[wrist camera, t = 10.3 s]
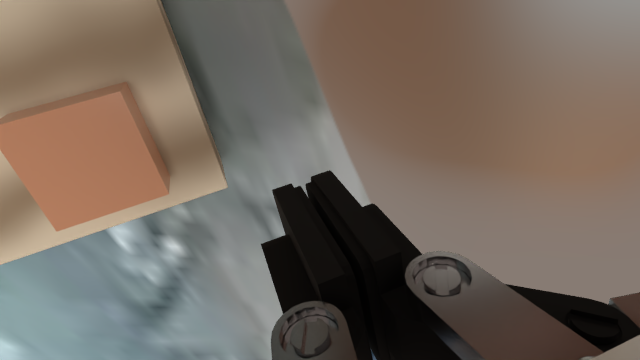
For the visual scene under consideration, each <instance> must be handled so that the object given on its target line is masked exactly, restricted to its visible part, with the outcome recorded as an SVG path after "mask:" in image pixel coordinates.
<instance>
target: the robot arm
mask: <svg viewBox="0 0 640 360" xmlns="http://www.w3.org/2000/svg"><path fill="white" fill-rule="evenodd" d="M306 190H307V194H308V197H307V195H306V194H305V192H304V191H303V189H302V187H301V186H298V187H295V188H294V187H293V185H292V184H288V185H285V186H282V187H279V188H276V189H273V190H272V191H273V195H274V199H275V202H276V205H277V208H278V212H279V215H280V218H281V221H282V225H283V228H284V231H285V234H286V235H285V236H282V237H279V238H276V239H274V240H271V241H268V242H265V243H263V244H261V246H262V249H263V252H264V255H265V258H266V261H267V264H268V268H269V271H270V274H271V277H272V280H273V283H274V286H275V289H276V293H277V296H278V299H279V302H280V305H281V308H282V311H283V315H282V316H281V317H280V318H279V320H278V321H277V322H276V324H275V326H274V328H273V331H272V337H271V350H272V360H373V359H372V354H371V350H372V352H373V354H374V355H375V357H376V359H377V360H640V292H639V293H635V294H629V295H624V296H619V297H615V298H610V301H609V304H608V305H607V304H605V303H602V302H599V301H595V300H592V299H587V298H582V297H576V296H570V295H564V294H558V293H553V292H547V291H542V290H536V289H530V288H524V287H518V286H513V285H507V284H504V283H502V282H501V281H499V280H498V279H496V278H495V277H494V276H492V275H491V274H489V273H488V272H486V271H485V270H483V269H482V268H481V267H479V266H477V265H476V264H475V263H473V262H472V261H470V260H469V259H467V258H465V257H463V256H461V255H459V254H456V253H452V252H445V251H443V252H442V251H436V252H429V253H425V254H423V255H422V254H421V253H420V251H419V250H418V249H417V248H416V247H415V246H414V245H413V244H412V243H411V242H410V241H409V240H408V239H407V238H406V237H405V235H404V234H403V233H401V231H400V230H399V229H398V228H397V227H396V226H395V225H394V224H393V223H392V222H391V221H390V219H389V218H388V217H387V216H386V215H385V214H384V213H383V212H382V211H381V210H380V209H379V208H378V207H377V206H376V205H375V204H369V205H367V206H364V207H362V206H361V205H360V204H359V203H358V202H357V200H356V199H355V198H354V197H353V196H352V195H351V194H350V192H349V191H348V190H347V189H346V188H345V187H344V185H343V184H342V183H341V182H340V181H339V180H338V179H337V177H336V176H335V175H334V174H333V173H332V172H331V171H326V172H324V173H321V174H318V175H315V176H312V177H311V182H310V183H307V184H306ZM370 348H371V349H370Z"/></svg>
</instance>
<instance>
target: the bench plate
mask: <svg viewBox="0 0 640 360" xmlns="http://www.w3.org/2000/svg"><path fill="white" fill-rule="evenodd" d="M126 81H127V84H128V86H129V88H130V90H131V92H132V94H133V97H134V99H135V101H136V103H137V105H138V107H139V110H140V112H141V114H142V116H143V118H144V120H145V123H146V125H147V127H148V129H149V131H150V133H151V135H152V138H153V140H154V142H155V144H156V146H157V148H158V151H159V153H160V155H161V157H162V159H163V161H164V164H165V166H166V168H167V170H168V172H169V174H170V190H169V194H168V195H165V196H162V197H159V198H156V199H153V200H150V201H147V202H144V203H141V204H138V205H135V206H132V207H129V208H126V209H123V210H120V211H117V212H114V213H111V214H108V215H105V216H102V217H99V218H96V219H93V220H90V221H87V222H84V223H81V224H78V225H75V226H72V227H69V228H66V229H63V230H60V231H57V232H56V230H55V229H54V227H53V226H52V224H51V223H50V221H49V220H48V219H47V217H46V216H45V214H44V213H43V211H42V210H41V208H40V207H39V205H38V204H37V203H36V201H35V200H34V198H33V197H32V195H31V194H30V192H29V191H28V190H27V188H26V187H25V185H24V184H23V182H22V181H21V179H20V178H19V176H18V175H17V174H16V172H15V171H14V169H13V168H12V166H11V165H10V163H9V162H8V160H7V159H6V158H5V156H4V155H3V153H2V152H1V150H0V265H1V264H4V263H7V262H10V261H13V260H16V259H19V258H22V257H25V256H27V255H30V254H33V253H36V252H39V251H42V250H45V249H48V248H51V247H54V246H57V245H60V244H63V243H66V242H69V241H72V240H75V239H78V238H81V237H83V236H86V235H89V234H92V233H95V232H98V231H101V230H104V229H107V228H110V227H113V226H116V225H119V224H122V223H125V222H128V221H131V220H134V219H137V218H139V217H142V216H145V215H148V214H151V213H154V212H157V211H160V210H163V209H166V208H169V207H172V206H175V205H178V204H181V203H184V202H187V201H190V200H193V199H195V198H198V197H201V196H204V195H207V194H210V193H213V192H216V191H219V190H222V189H225V188H228V186H227V182H226V178H225V173H224V169H223V165H222V161H221V158H220V155H219V153H218V150H217V147H216V145H215V142H214V139H213V137H212V134H211V132H210V129H209V126H208V124H207V121H206V118H205V116H204V113H203V110H202V108H201V105H200V102H199V100H198V97H197V94H196V92H195V89H194V86H193V84H192V81H191V78H190V76H189V73H188V70H187V68H186V65H185V63H184V60H183V57H182V55H181V52H180V49H179V47H178V44H177V41H176V39H175V36H174V33H173V31H172V28H171V25H170V23H169V20H168V17H167V15H166V12H165V9H164V7H163V4H162V2H161V0H0V118H2V117H3V116H5V115H6V114H9V113H13V112H17V111H20V110H24V109H28V108H31V107H35V106H39V105H42V104H46V103H50V102H53V101H57V100H61V99H64V98H68V97H72V96H75V95H79V94H83V93H86V92H90V91H93V90H97V89H101V88H104V87H108V86H112V85H115V84H119V83H123V82H126Z"/></svg>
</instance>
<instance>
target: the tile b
mask: <svg viewBox="0 0 640 360" xmlns="http://www.w3.org/2000/svg"><path fill="white" fill-rule="evenodd" d="M0 150H1V152H2V153H3V155H4V156H5V158H6V159H7V160H8V162H9V163H10V165H11V166H12V168H13V169H14V171H15V172H16V174H17V175H18V176H19V178H20V179H21V181H22V182H23V184H24V185H25V187H26V188H27V190H28V191H29V192H30V194H31V195H32V197H33V198H34V200H35V201H36V203H37V204H38V205H39V207H40V208H41V210H42V211H43V213H44V214H45V216H46V217H47V219H48V220H49V221H50V223H51V224H52V226H53V227H54V229H55V230H56V232H57V231H60V230H63V229H66V228H69V227H72V226H75V225H78V224H81V223H84V222H87V221H90V220H93V219H96V218H99V217H102V216H105V215H108V214H111V213H114V212H117V211H120V210H123V209H126V208H129V207H132V206H135V205H138V204H141V203H144V202H147V201H150V200H153V199H156V198H159V197H162V196H165V195H168V194H169V190H170V174H169V172H168V170H167V168H166V166H165V164H164V161H163V159H162V157H161V155H160V153H159V151H158V148H157V146H156V144H155V142H154V140H153V138H152V135H151V133H150V131H149V129H148V127H147V125H146V123H145V120H144V118H143V116H142V114H141V112H140V110H139V107H138V105H137V103H136V101H135V99H134V97H133V94H132V92H131V90H130V88H129V86H128V84H127V81H126V82H123V83H119V84H115V85H112V86H108V87H104V88H101V89H97V90H93V91H90V92H86V93H83V94H79V95H75V96H72V97H68V98H64V99H61V100H57V101H53V102H50V103H46V104H42V105H39V106H35V107H31V108H28V109H24V110H20V111H17V112H13V113H9V114H6V115H5V116H3V117H2V118H0Z"/></svg>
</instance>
